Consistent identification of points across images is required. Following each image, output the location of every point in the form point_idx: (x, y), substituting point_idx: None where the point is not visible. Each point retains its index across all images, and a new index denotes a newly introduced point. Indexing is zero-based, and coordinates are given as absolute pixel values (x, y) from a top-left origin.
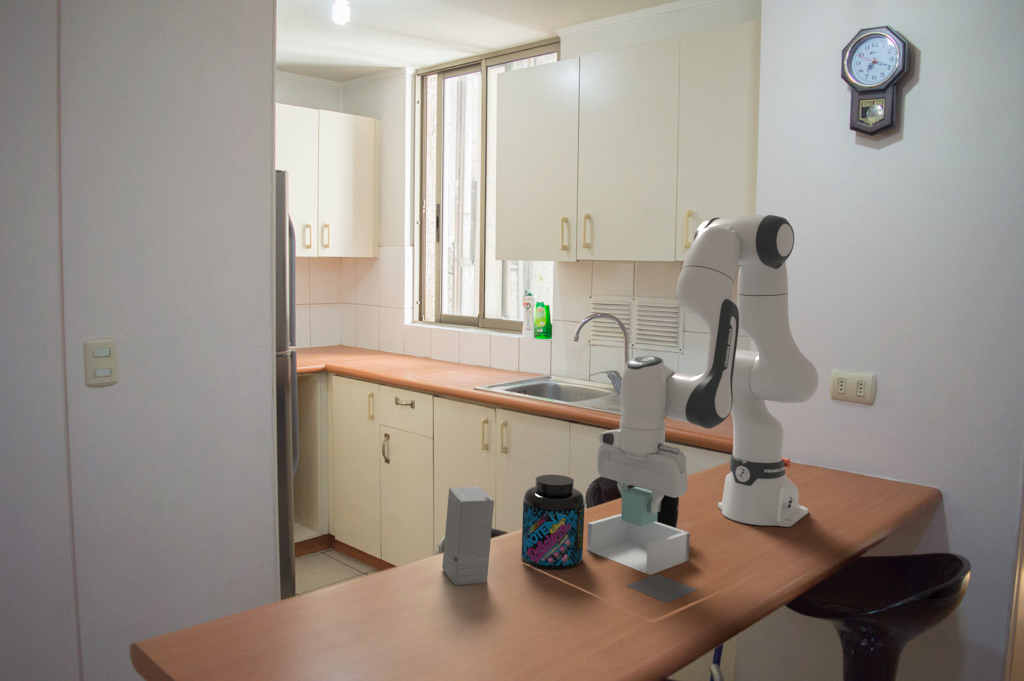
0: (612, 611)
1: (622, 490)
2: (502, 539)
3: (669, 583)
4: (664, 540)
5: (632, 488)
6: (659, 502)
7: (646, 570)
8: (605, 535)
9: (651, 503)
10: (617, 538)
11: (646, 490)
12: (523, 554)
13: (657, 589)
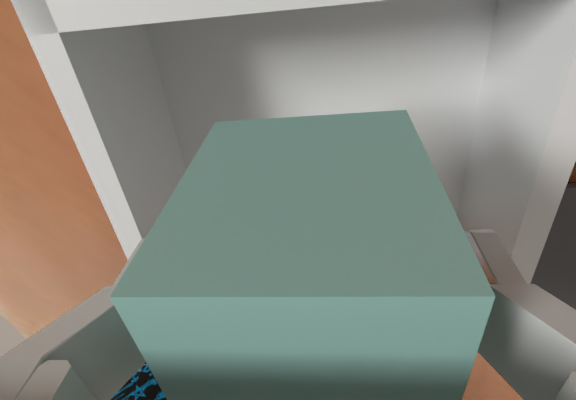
0: (508, 387)
1: (123, 380)
2: (20, 316)
3: (572, 218)
4: (548, 209)
5: (177, 384)
6: (547, 299)
7: (461, 221)
8: (165, 178)
9: (486, 352)
10: (152, 84)
11: (329, 347)
12: None
13: (555, 273)
